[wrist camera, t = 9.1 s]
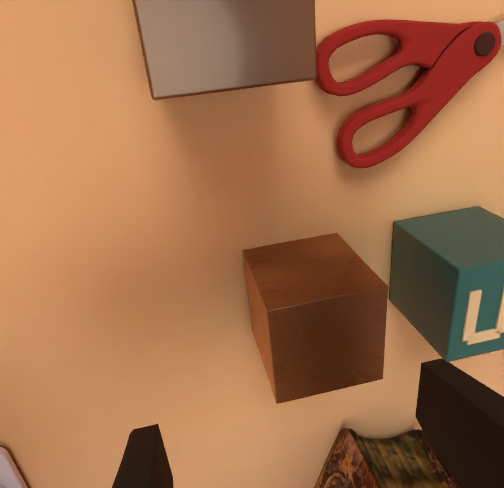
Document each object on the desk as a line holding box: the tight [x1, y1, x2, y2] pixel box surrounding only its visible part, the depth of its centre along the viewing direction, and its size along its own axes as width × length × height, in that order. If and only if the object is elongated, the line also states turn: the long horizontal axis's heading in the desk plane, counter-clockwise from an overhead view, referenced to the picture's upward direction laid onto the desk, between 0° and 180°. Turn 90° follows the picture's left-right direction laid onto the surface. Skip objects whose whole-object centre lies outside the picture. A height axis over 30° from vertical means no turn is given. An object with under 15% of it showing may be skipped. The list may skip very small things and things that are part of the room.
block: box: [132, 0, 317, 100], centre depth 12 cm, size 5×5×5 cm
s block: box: [389, 206, 504, 362], centre depth 19 cm, size 5×5×5 cm
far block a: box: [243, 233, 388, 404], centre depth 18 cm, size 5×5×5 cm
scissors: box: [316, 20, 504, 168], centre depth 16 cm, size 5×14×1 cm, turn 113°
